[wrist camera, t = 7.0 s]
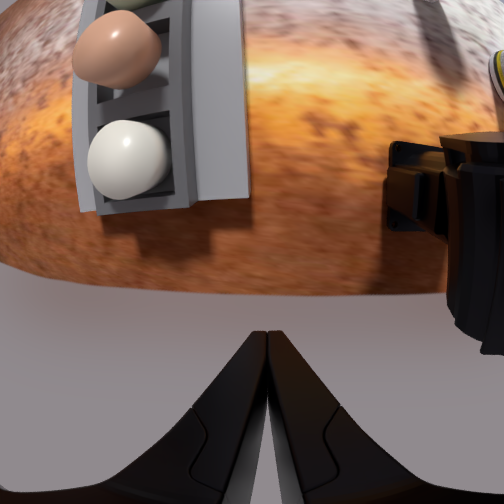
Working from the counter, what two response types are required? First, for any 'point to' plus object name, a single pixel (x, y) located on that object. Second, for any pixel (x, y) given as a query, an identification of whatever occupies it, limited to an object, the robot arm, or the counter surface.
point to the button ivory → (128, 158)
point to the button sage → (132, 4)
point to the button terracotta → (116, 51)
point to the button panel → (175, 106)
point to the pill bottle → (498, 71)
